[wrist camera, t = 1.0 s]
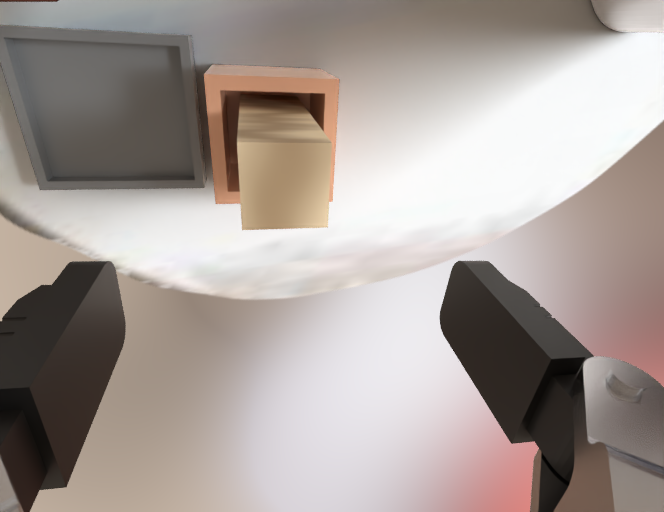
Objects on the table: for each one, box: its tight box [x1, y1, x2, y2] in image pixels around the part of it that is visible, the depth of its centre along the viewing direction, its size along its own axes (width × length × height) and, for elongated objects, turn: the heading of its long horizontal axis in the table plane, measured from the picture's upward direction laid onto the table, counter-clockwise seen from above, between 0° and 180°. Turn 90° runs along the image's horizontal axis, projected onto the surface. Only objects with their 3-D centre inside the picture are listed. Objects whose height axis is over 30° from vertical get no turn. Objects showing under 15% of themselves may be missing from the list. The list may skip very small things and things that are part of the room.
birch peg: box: [237, 94, 332, 230], centre depth 24 cm, size 4×4×14 cm
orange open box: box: [204, 64, 339, 204], centre depth 28 cm, size 8×8×7 cm
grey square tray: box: [0, 25, 206, 190], centre depth 28 cm, size 11×10×2 cm
